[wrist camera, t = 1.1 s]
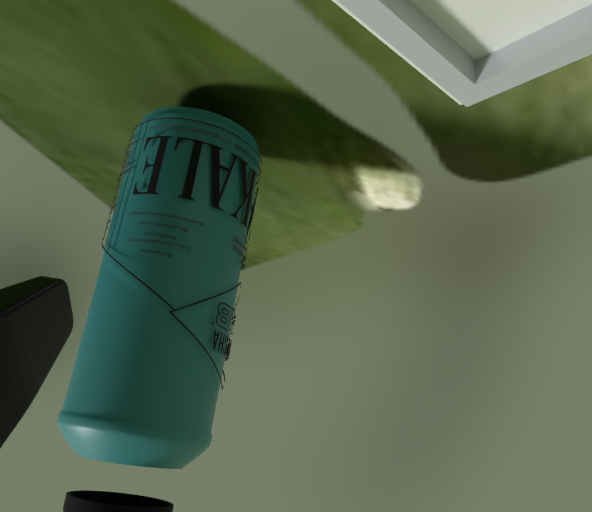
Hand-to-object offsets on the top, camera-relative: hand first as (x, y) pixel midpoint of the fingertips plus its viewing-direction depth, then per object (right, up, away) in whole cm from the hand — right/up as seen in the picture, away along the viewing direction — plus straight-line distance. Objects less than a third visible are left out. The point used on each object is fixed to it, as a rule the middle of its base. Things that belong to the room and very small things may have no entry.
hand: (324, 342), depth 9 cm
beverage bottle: (-5, +9, +19) cm, 21 cm away
